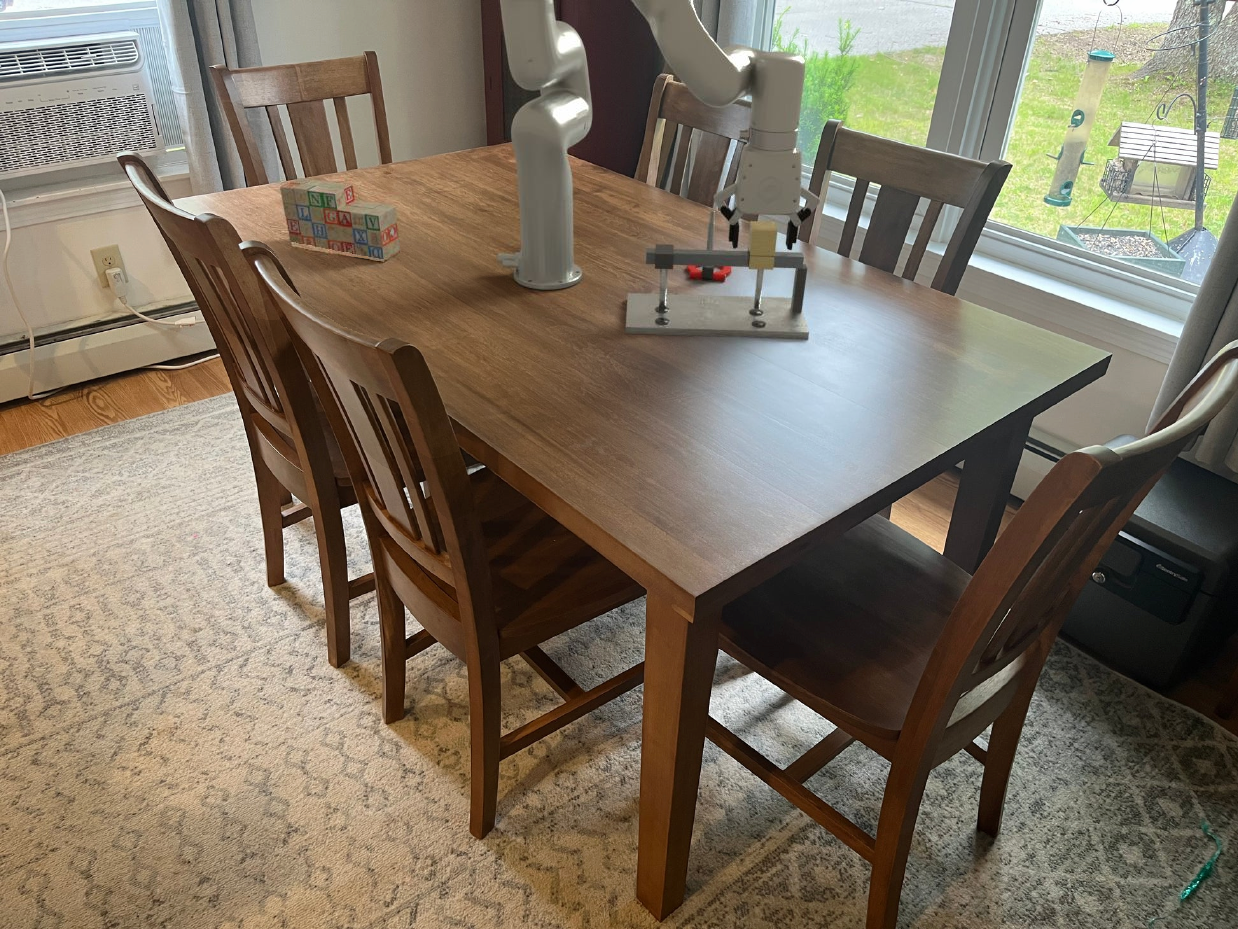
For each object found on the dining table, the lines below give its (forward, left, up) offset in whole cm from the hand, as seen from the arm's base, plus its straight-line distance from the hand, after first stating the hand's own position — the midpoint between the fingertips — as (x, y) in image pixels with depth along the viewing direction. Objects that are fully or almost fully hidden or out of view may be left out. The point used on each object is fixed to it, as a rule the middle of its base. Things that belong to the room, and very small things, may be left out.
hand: (761, 246), depth 158 cm
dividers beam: (-6, 0, -11) cm, 12 cm away
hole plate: (-7, -2, -12) cm, 14 cm away
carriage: (0, 0, -10) cm, 10 cm away
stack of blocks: (-78, +25, -13) cm, 83 cm away
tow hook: (-7, +19, -13) cm, 24 cm away
